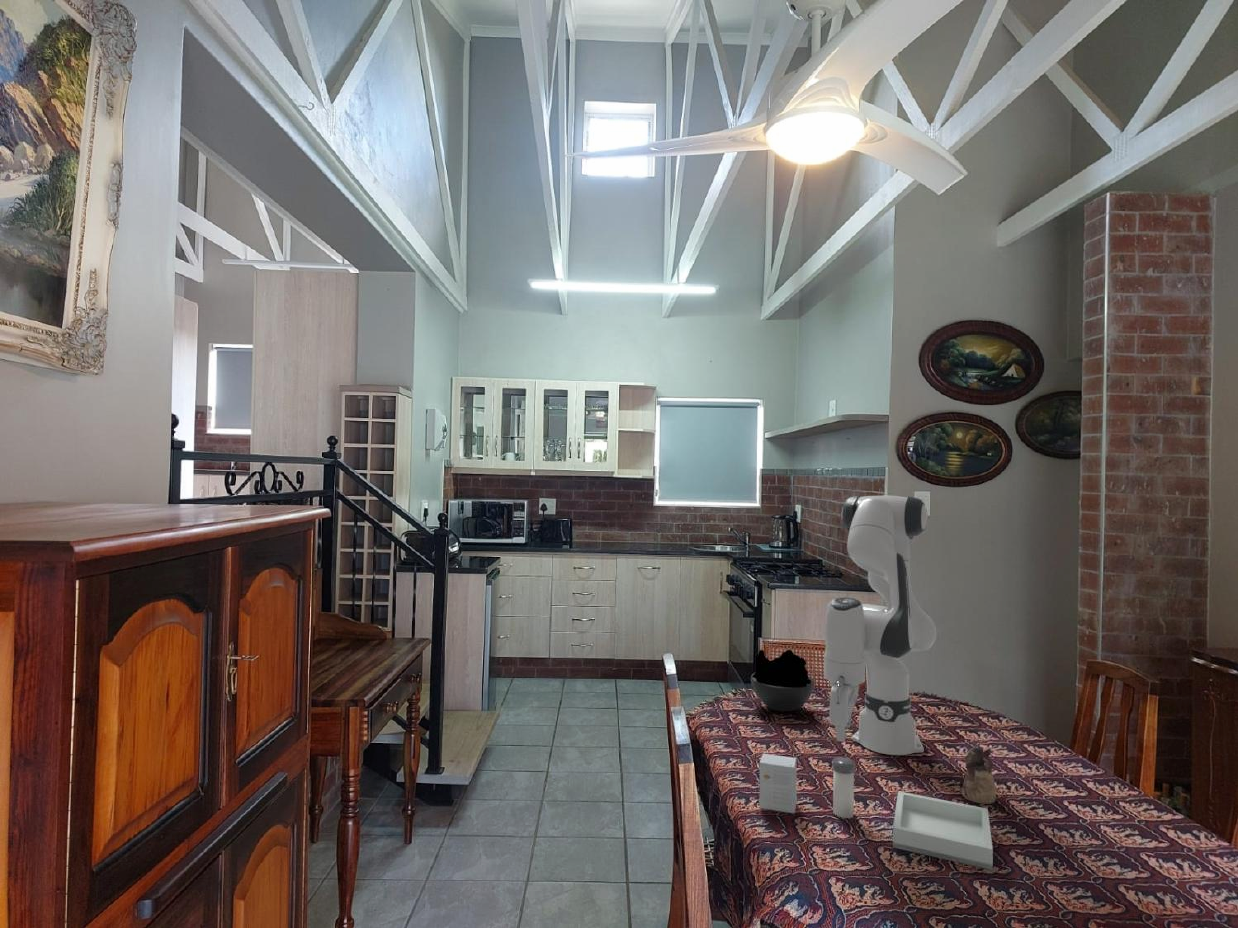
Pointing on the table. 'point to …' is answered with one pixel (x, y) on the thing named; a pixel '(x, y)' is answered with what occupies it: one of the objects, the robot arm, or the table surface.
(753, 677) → the coal bowl
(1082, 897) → the table surface
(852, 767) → the shaker
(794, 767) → the small box
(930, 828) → the tray
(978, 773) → the figurine
